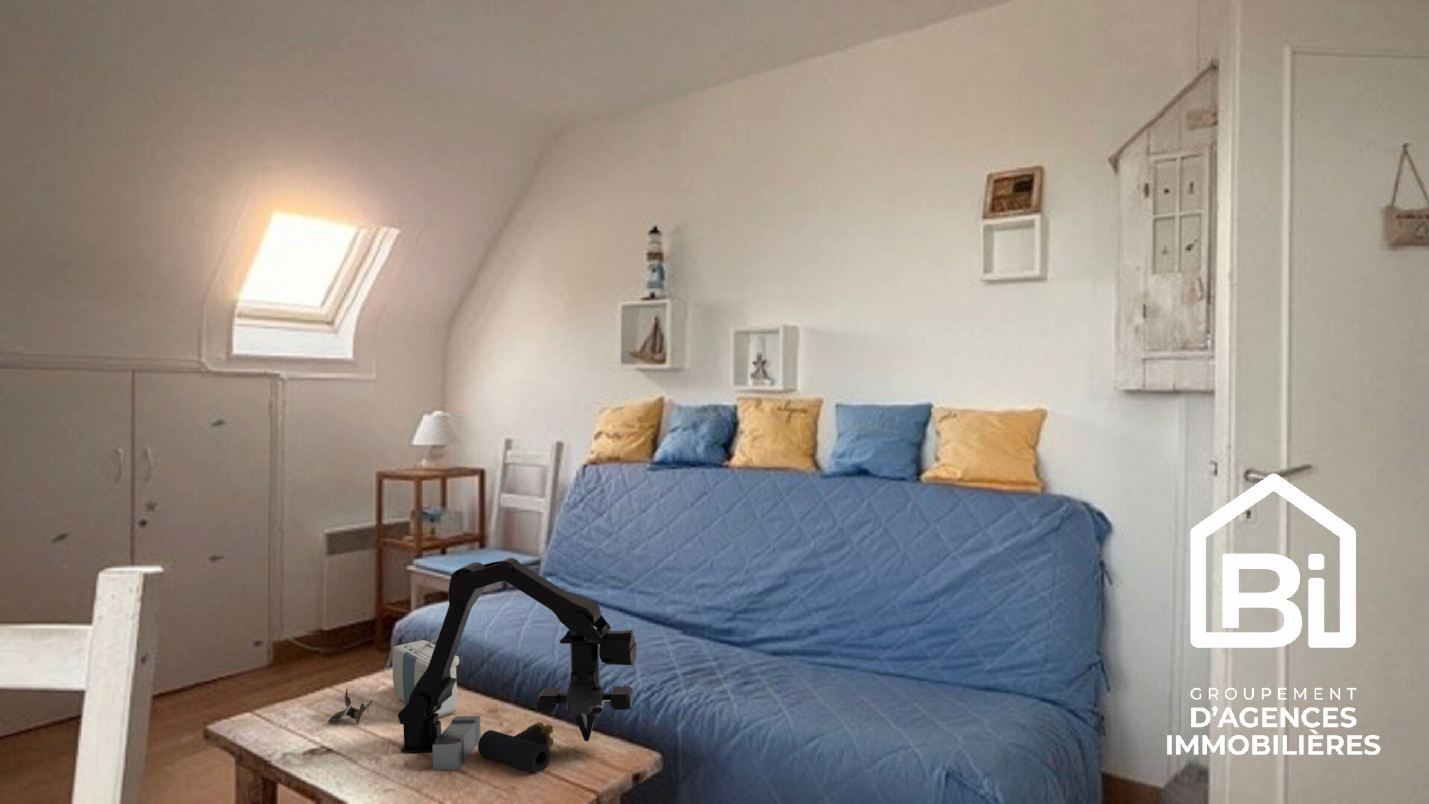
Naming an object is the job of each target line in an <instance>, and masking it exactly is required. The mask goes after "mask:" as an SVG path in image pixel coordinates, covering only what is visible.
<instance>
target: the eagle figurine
mask: <svg viewBox="0 0 1429 804" xmlns="http://www.w3.org/2000/svg"><path fill="white" fill-rule="evenodd" d="M348 691H349V689H348V688H346V689H345V694H344V699H343V702H344V704H345V706H346V707H345V709H343V710H340V711H338V712H335V713H334V714H333V715H332V716H331V717H330V718H329V720H328V721H327V722H330V721H338V720H340V719H341V718H345V717H346V716H348V717H350V718H351V719H354V720H355V723H356V725H357V724H358V725H359V724H360V721H361V719H362V718H361V717H362V716H363V715H364V712H365V711H366V710H367V709H368V708H369V707H370V706H371V705H372V703H373V699H371V700H370V701H369V702H368V703H367V704H366V705H365V704H364V703H363V702H361V703H360V706H359V709H358V708H356V707H354V706H352V700H351V698H350V696H348V694H349V693H348Z"/></svg>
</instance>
